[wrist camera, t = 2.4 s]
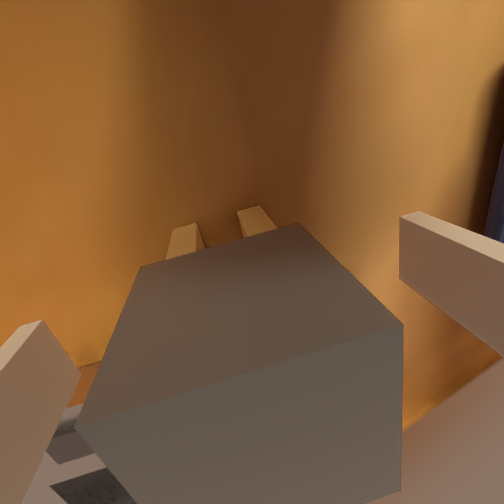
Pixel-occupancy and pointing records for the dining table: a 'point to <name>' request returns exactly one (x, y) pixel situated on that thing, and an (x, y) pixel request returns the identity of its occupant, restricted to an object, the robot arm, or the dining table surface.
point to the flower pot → (496, 205)
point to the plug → (250, 377)
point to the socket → (74, 462)
